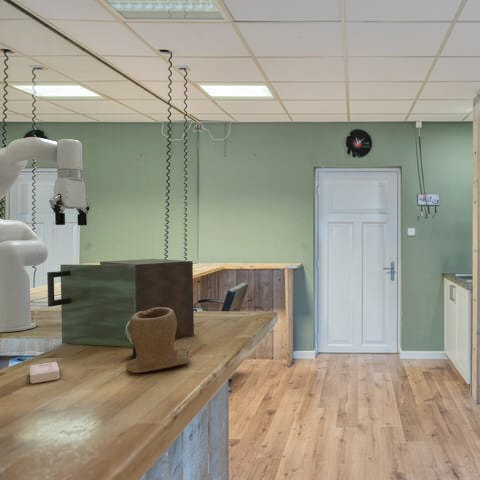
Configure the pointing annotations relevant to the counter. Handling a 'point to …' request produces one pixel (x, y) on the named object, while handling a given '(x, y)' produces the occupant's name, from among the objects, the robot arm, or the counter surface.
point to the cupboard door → (95, 303)
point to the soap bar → (44, 372)
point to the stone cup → (155, 341)
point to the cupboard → (165, 289)
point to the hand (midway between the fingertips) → (71, 225)
